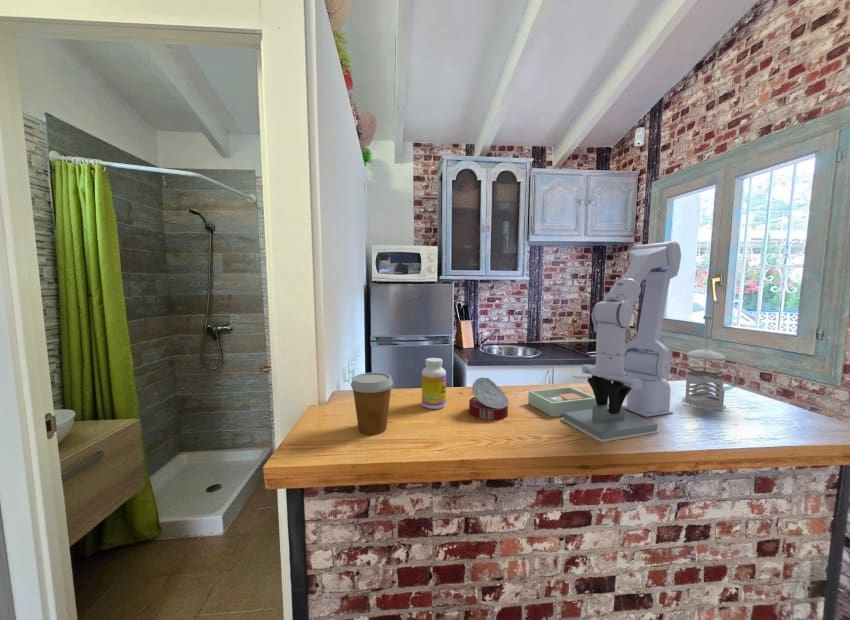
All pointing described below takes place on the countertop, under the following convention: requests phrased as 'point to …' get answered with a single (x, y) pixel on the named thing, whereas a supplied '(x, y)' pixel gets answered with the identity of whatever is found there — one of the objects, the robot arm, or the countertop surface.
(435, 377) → the supplement bottle
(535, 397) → the storage box
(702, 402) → the french press
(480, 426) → the countertop surface
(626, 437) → the mat
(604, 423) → the lid
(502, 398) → the canned food
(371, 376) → the disposable coffee cup
